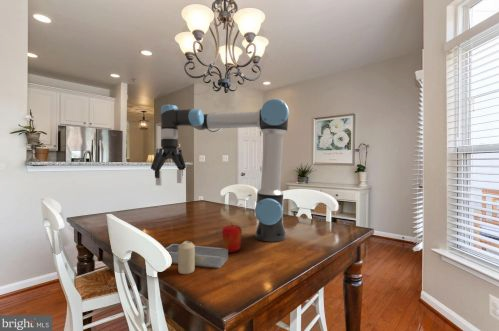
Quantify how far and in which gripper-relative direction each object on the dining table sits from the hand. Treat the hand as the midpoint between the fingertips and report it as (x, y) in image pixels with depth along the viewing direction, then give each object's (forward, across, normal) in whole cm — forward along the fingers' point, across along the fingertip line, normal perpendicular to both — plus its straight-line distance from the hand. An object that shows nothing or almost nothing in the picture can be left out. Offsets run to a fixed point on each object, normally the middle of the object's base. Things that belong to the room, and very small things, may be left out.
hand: (169, 184), depth 120 cm
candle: (+27, +22, +28) cm, 45 cm away
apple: (+27, -2, +32) cm, 43 cm away
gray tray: (+27, +13, +25) cm, 39 cm away
